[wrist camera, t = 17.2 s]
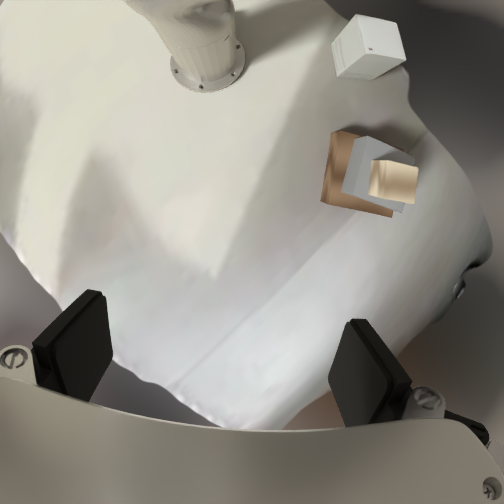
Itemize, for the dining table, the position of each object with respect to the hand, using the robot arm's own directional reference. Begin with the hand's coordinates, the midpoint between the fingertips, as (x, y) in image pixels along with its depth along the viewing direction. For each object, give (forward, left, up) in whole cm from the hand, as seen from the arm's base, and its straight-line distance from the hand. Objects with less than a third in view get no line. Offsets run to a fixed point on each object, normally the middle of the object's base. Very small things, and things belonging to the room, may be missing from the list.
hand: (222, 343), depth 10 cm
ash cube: (-8, +21, -29) cm, 36 cm away
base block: (-9, +20, -39) cm, 45 cm away
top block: (-9, +21, -34) cm, 41 cm away
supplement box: (-30, +17, -38) cm, 52 cm away
